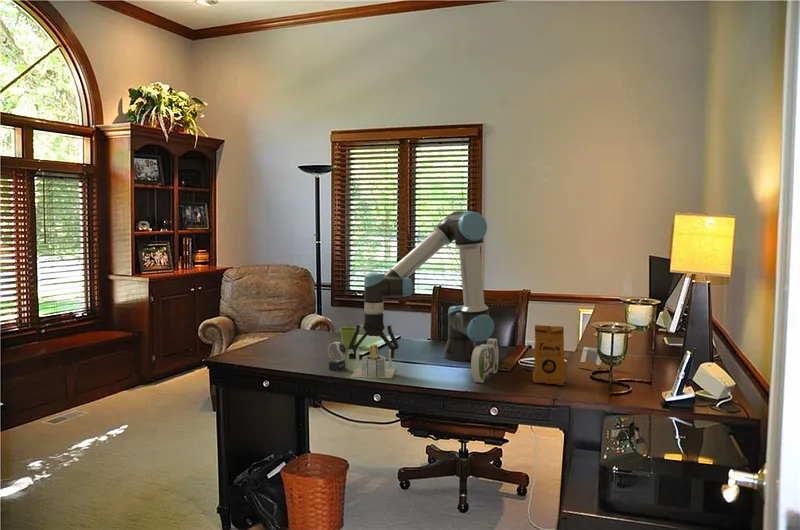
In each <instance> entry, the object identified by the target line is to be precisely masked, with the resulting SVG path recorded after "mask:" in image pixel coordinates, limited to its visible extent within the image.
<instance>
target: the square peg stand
mask: <svg viewBox="0 0 800 530" xmlns="http://www.w3.org/2000/svg"><path fill="white" fill-rule="evenodd" d="M378 345H379V344H370V345H369V346H370V347H369V355H370V359H378V355H379V354H378V353H379V348H378ZM396 370H397V369H396V368H386V367H385V374H382V375H376V376H375V375H365V374H362V367H358V366H356V369H355V370H354V372H353V373H352V374H351V376H350V378H360V377H362V378H365V379H393V378H394V377H393V376H394V374H395V372H396Z"/></svg>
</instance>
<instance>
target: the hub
mask: <svg viewBox="0 0 800 530" xmlns="http://www.w3.org/2000/svg"><path fill="white" fill-rule="evenodd" d="M386 358H387V357H386V356H384V355H380V354H378V359H370V354H369V355H364V356H362V358H361V368H362V374H365V375H375V376H376V375H382V374H385V368H386Z"/></svg>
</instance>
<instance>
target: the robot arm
mask: <svg viewBox="0 0 800 530" xmlns="http://www.w3.org/2000/svg"><path fill="white" fill-rule="evenodd" d="M487 223H488V222H487V221H486V218H485V217H484V216H483V215H482V214H481V213H479V212H476V211H473V210H465V211H464V210H458V211H453V212H451V213H449V214H448V215H447V216H446V217H444V218H443V219H442V220H441V221H440V222H439V223H438V224H437V225H436V226H434V227H433V231H432V232H431V233H430V234H429V235H428V236H427V237H425V239H423V240H422V241H421V242H420V243H418V244H417V245H416V246H415V247H413V249H412V250H411V251H410V252H409V253H407V254H406V255H405V256H404V257H403V258H402V259H401V260H399V261H398V262H396V264H395V265H394V266H392V267H391V268H390V269H389V270H388V271H387V272H385V273H378V272H376V273H367V274H365V276H364V283H363V286H364V287H363V288H364V289H363V290H364V291H363V292H364V302H363V303H364V306H363V307H364V315H363V316H364V317H363V318H364V324H360V323H358V324H357V325H355V327H356V332H355V334H354V336H353V338H352V340H351V342H350V345H349V348H348V349H352V350H353V358H355V366H356V367H358V366H359V365H360V348H359V346H360V345H361V343H362V342H363V341H364V340H365V338H367V336H369V337H380V338H381V340H382V341H384V344H386V346H387V347H388V348H389V349H388V367H389V368H391V367H392V361H393V360H392V359H394V358H395V350H398V349H399V348H400V346H399V343H398V341H397V339H396V337H395V334H394V333H393V330H392V325H391V324H388V325H385V324H384V313H383V312H384V298H394V297H395V298H396V297H397V298H398V297H399V298H401V297H410V296H412V294H413V290H414V284H413V281H412V279H411V278H410V276H411V275H412V274H414V273H415V272H416V271H417V270H418V269H419V268H421V266H422V265H424V264H425V263H426V262H427V261H428V260H429V259H430V258H432V257H433V256H434V255H435V254H436V253H437V252H439V251H440V250H441V249H442V248H443V247H444V246H448V245H450V244H451V243H453V242H454V243H455V244H454V245H455V246H456V247H457V248H458V249H459V260H460V271H461V273H460V274H461V275H460V276H461V285H462V298H463V305H453V306H450V307H449V308H448V313H447V342H446V344H445V348H444V350H443V358H445V359H447V360H451V361H459V362H465V361H466V362H467V361H470V362H471V358H472V353H473V350H474V348H475V347H477V345H476V342H483V341H487V339H489V338H491V336H492V335H493V333H494V330H495V323H494V320H493V318H492V317H491V316H490V314H489V306H487V305H486V303H485V294H484V280H483V271H482V268H483V267H482V258H481V257H482V255H481V247H482V245H483V244H484V237H485V235H486V233H487V230H488V224H487ZM362 329H363V330H364V332H365V333H364V334H363V335H362V336H361V337H360V338H359V340H357V342H356V345H353V344H354V342H355V340H356V338H357V339H358V335H359V333H360V331H361V330H362ZM384 330H385V331H387V334H388V336H389V337H390V340H389V339H388V337H387V336H386V335H385V332H383V331H384ZM391 341H392V342H391Z"/></svg>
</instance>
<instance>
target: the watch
mask: <svg viewBox="0 0 800 530" xmlns="http://www.w3.org/2000/svg"><path fill="white" fill-rule="evenodd" d="M333 345H335V347H336V350H337V352H338V354H339V355H340V356H341V359H338V358H337V359H336V357H335V355H334V353H333V350H332V346H333ZM347 353H348V348H346V346H345V345H344V344H343V342H340V341H335V342H331V343H329V345H328V347H327V354H328V356H329V358H330V360H331V361H329V362H328V370H329V371H334V372H335V371H336V372H339V371H341V370H344V369H345V368H346V360H345V358H346V356H347Z"/></svg>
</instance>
